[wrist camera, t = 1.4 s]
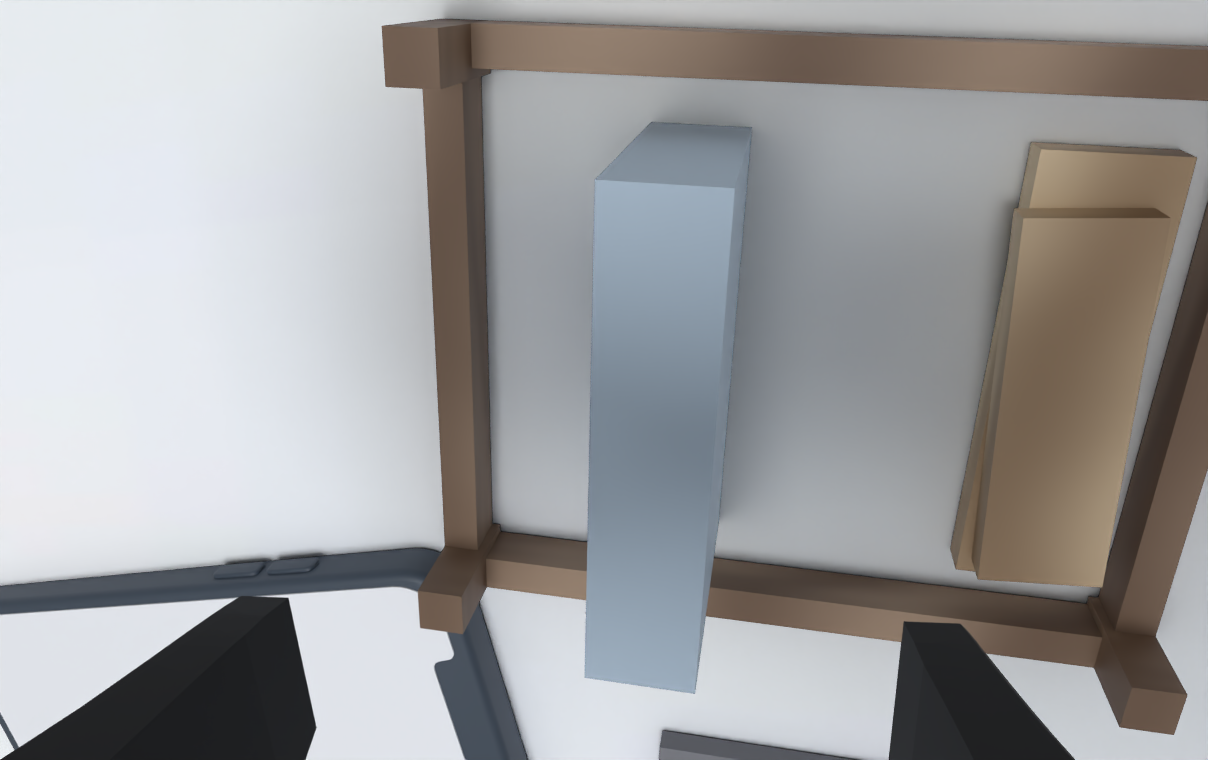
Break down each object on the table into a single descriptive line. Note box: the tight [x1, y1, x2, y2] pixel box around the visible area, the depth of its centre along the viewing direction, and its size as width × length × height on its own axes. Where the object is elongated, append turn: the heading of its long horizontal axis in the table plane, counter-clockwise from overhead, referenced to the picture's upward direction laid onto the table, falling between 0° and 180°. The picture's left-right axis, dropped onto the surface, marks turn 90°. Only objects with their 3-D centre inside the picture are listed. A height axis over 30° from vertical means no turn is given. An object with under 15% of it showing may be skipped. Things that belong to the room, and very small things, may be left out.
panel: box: [585, 122, 752, 694], centre depth 18 cm, size 2×9×6 cm, turn 179°
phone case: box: [0, 548, 527, 760], centre depth 27 cm, size 9×2×16 cm
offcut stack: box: [950, 142, 1197, 587], centre depth 19 cm, size 3×9×2 cm, turn 179°
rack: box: [382, 19, 1208, 735], centre depth 19 cm, size 16×13×3 cm
